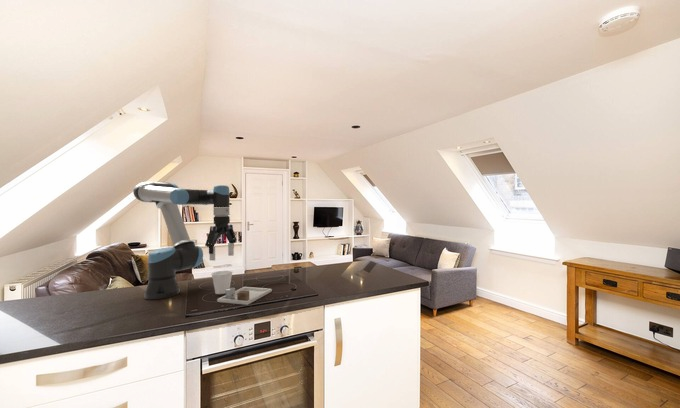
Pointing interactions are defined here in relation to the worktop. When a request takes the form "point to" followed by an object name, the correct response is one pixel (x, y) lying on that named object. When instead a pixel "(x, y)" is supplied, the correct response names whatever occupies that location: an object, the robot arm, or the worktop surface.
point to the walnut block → (243, 295)
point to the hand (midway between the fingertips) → (222, 257)
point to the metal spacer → (230, 293)
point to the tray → (253, 295)
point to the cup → (221, 281)
